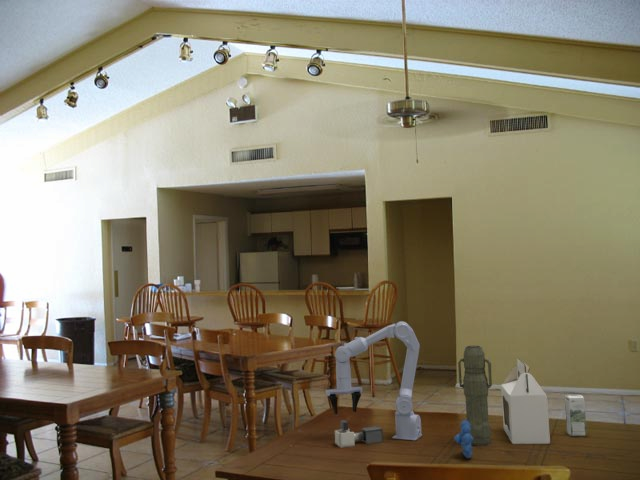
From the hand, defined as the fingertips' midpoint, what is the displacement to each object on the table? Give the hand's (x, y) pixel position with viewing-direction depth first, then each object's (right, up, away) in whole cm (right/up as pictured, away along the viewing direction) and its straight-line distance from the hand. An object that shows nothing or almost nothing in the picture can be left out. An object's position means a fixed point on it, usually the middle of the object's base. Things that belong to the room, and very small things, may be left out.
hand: (345, 412), depth 246 cm
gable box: (+68, -7, -9) cm, 69 cm away
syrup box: (+86, -6, -10) cm, 87 cm away
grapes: (+40, -7, -31) cm, 51 cm away
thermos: (+49, -7, -14) cm, 51 cm away
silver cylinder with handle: (+2, -8, -9) cm, 12 cm away
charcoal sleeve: (+10, -9, -7) cm, 15 cm away
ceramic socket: (-1, -9, -10) cm, 13 cm away
